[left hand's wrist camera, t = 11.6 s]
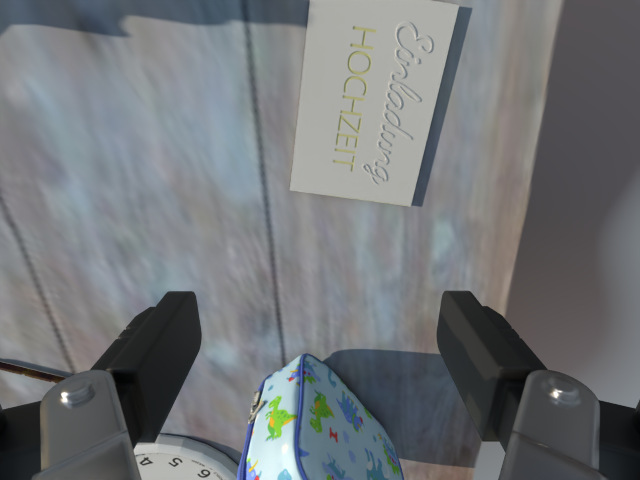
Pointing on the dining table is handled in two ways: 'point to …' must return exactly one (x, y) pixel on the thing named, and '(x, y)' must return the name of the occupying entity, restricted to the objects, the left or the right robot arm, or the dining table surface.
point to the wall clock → (182, 460)
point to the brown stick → (30, 373)
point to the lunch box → (313, 430)
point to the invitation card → (369, 96)
